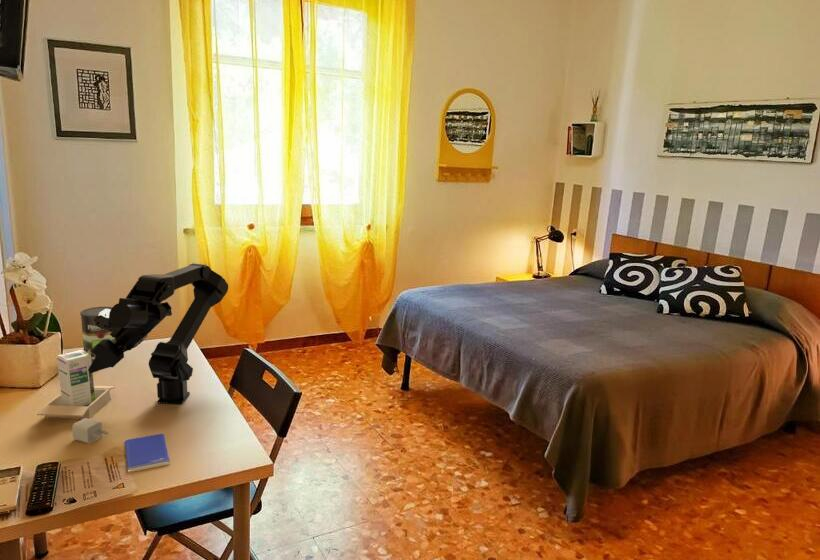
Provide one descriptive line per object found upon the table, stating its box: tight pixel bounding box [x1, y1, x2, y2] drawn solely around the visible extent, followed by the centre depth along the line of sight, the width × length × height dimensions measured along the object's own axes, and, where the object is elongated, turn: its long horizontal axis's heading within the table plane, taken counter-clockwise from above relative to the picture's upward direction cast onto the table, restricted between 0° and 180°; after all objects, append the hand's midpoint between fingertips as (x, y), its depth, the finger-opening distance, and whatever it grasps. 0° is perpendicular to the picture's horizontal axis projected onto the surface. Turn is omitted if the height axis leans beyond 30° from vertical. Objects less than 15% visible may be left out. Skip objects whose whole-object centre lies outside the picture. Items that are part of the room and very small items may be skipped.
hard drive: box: [124, 433, 171, 472], centre depth 124 cm, size 2×8×12 cm
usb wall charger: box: [71, 418, 109, 445], centre depth 128 cm, size 4×7×4 cm, turn 71°
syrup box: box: [56, 349, 95, 406], centre depth 141 cm, size 6×6×14 cm
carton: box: [36, 385, 116, 420], centre depth 142 cm, size 11×16×3 cm, turn 2°
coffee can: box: [80, 306, 116, 360], centre depth 176 cm, size 10×10×14 cm
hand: (98, 364), depth 140 cm, fingers open, 9 cm apart
